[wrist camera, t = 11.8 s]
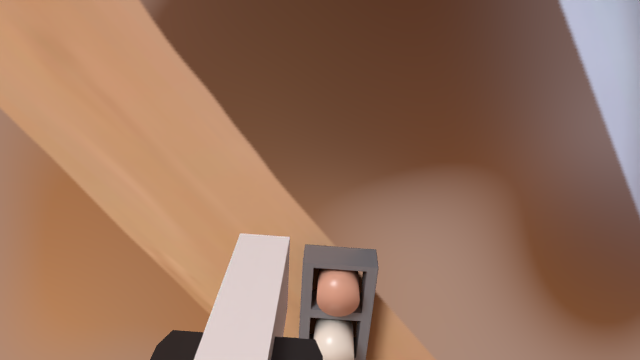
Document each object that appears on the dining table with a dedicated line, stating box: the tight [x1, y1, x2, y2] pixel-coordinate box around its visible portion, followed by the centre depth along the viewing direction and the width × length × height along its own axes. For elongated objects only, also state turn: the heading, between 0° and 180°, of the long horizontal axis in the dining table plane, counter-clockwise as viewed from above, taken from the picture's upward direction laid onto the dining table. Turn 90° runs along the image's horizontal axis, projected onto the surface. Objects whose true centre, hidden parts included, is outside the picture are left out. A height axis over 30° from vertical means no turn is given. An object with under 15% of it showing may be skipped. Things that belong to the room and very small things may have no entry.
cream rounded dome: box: [314, 318, 354, 360], centre depth 46 cm, size 4×4×4 cm
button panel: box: [299, 245, 378, 360], centre depth 48 cm, size 18×7×3 cm, turn 176°
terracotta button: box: [317, 268, 360, 317], centre depth 44 cm, size 4×4×4 cm
